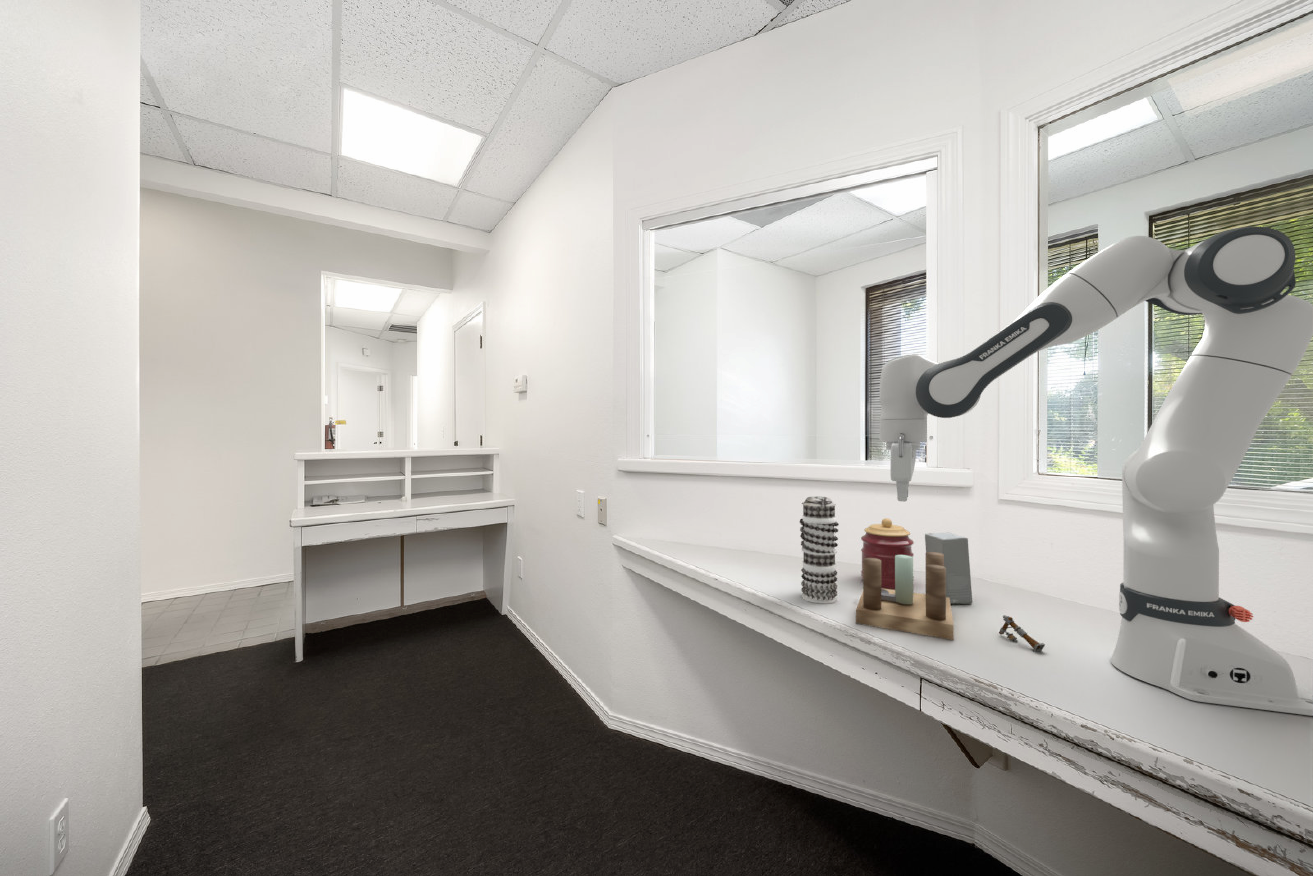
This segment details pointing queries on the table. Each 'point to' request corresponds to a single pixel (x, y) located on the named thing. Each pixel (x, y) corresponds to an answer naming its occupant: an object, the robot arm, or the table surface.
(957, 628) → the table surface
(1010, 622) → the wooden post with brackets
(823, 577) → the decorative candle
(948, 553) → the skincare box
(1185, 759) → the table surface
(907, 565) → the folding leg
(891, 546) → the canister
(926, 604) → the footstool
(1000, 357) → the robot arm
